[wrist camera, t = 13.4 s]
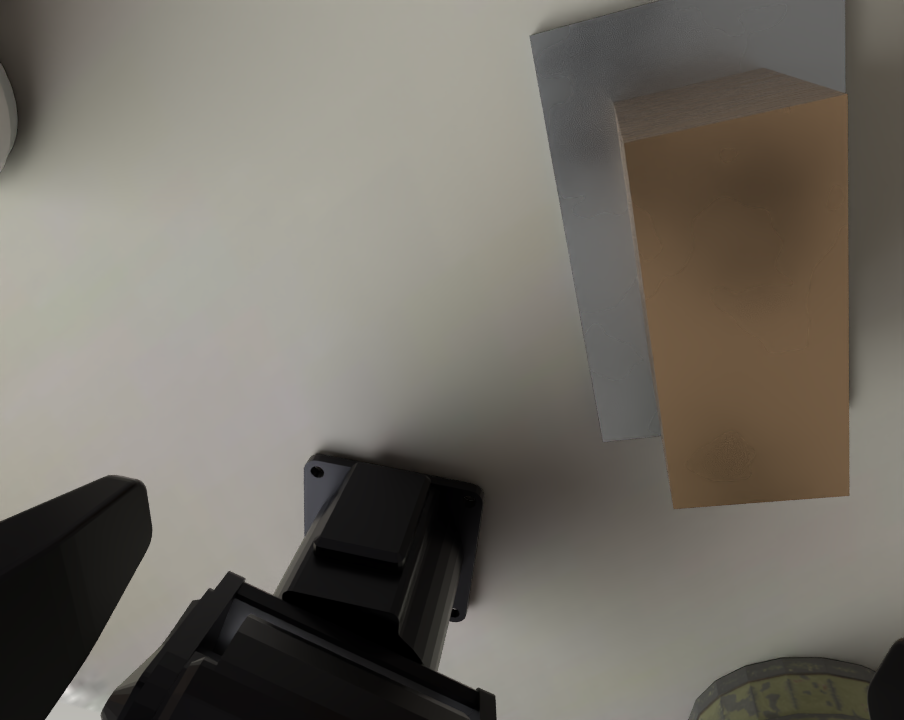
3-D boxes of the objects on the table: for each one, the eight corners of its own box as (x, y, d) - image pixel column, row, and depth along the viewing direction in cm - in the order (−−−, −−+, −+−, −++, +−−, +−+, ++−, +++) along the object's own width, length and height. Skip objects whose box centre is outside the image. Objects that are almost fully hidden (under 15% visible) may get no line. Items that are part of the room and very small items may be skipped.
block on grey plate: (838, 402, 20) (941, 564, 14) (602, 428, 22) (606, 581, 16) (833, -47, 15) (985, -85, 9) (532, 34, 17) (501, 45, 11)
